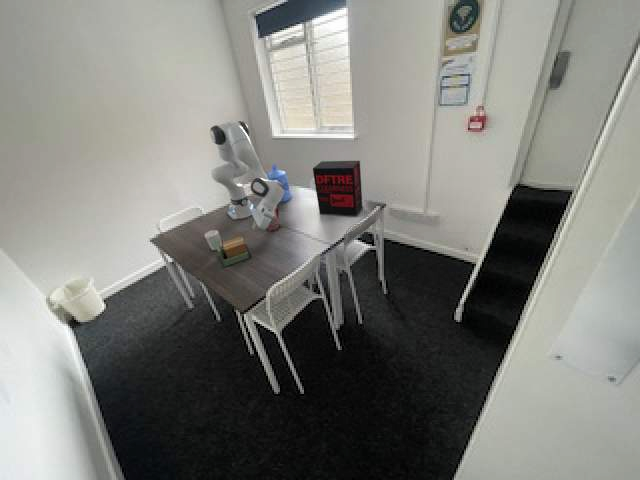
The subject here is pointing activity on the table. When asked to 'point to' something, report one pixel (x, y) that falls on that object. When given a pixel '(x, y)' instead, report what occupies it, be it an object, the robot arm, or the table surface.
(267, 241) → the table surface
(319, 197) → the product box
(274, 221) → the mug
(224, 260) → the stand
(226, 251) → the parcel
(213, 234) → the white cup
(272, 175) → the water jug
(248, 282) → the table surface
